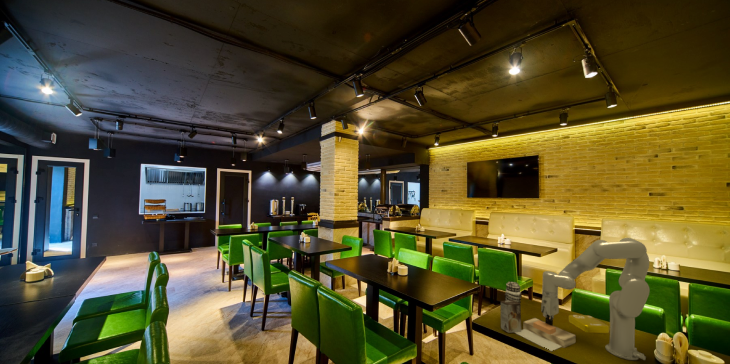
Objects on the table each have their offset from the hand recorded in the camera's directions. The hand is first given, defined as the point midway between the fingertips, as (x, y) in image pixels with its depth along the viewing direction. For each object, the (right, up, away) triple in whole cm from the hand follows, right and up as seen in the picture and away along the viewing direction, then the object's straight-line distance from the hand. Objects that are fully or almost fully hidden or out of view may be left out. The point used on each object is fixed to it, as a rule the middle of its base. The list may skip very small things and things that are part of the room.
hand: (549, 325), depth 160 cm
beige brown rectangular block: (-1, -5, -1) cm, 5 cm away
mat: (-10, -5, -6) cm, 13 cm away
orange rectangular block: (-4, -1, -2) cm, 5 cm away
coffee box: (-20, -5, +4) cm, 21 cm away
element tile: (+32, -8, +12) cm, 35 cm away
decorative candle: (-15, -5, +12) cm, 20 cm away
